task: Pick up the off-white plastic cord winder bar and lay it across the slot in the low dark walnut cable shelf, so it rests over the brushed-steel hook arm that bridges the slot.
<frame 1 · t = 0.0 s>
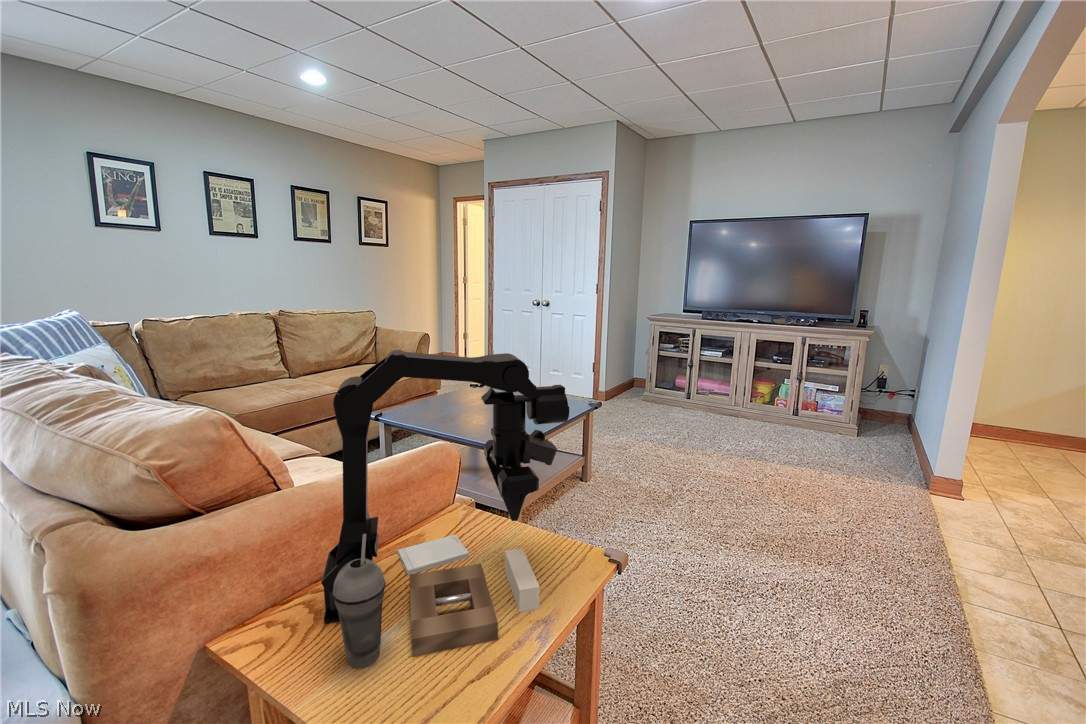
hand: (509, 507, 87), 15 cm above the table, tool pointing down, fingers open, 9 cm apart
cord winder: (521, 589, 88), on the table
beverage cup: (363, 657, 72), on the table
hard drive: (433, 558, 98), on the table
cable shelf: (450, 612, 81), on the table
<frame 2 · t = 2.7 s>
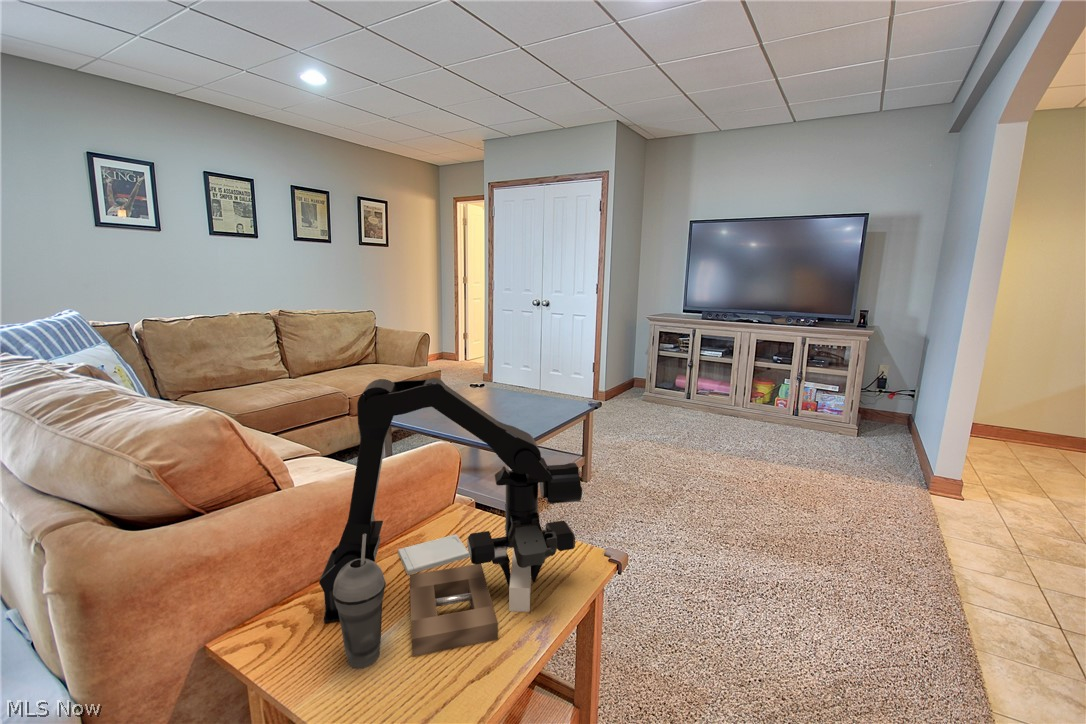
hand: (521, 583, 88), 1 cm above the table, tool pointing down, fingers closed on cord winder, 4 cm apart
cord winder: (520, 588, 88), on the table, touching gripper
everything else where it was.
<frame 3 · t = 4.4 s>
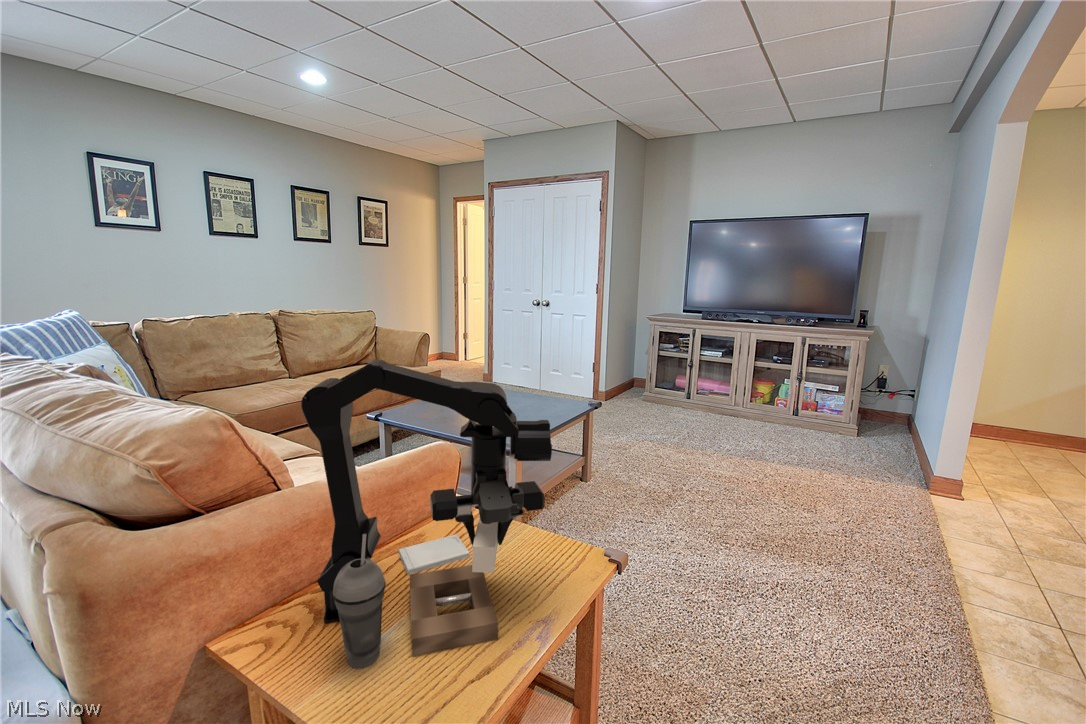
hand: (486, 545, 83), 10 cm above the table, tool pointing down, fingers closed on cord winder, 4 cm apart
cord winder: (486, 551, 83), point 9 cm above the table, touching gripper
everything else where it was.
when the fingers open (5 cm above the table, at t = 6.5 s): cord winder drops 1 cm, resting on cable shelf.
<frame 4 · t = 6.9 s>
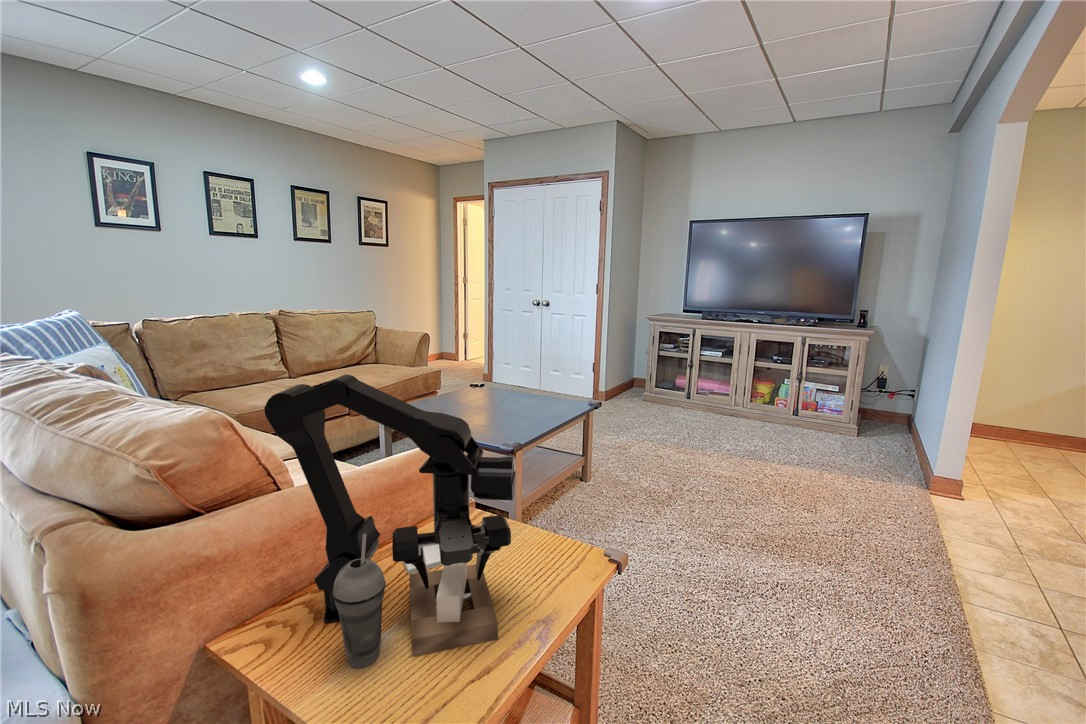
hand: (453, 583, 80), 6 cm above the table, tool pointing down, fingers open, 8 cm apart
cord winder: (453, 596, 81), point 3 cm above the table, touching cable shelf
everything else where it was.
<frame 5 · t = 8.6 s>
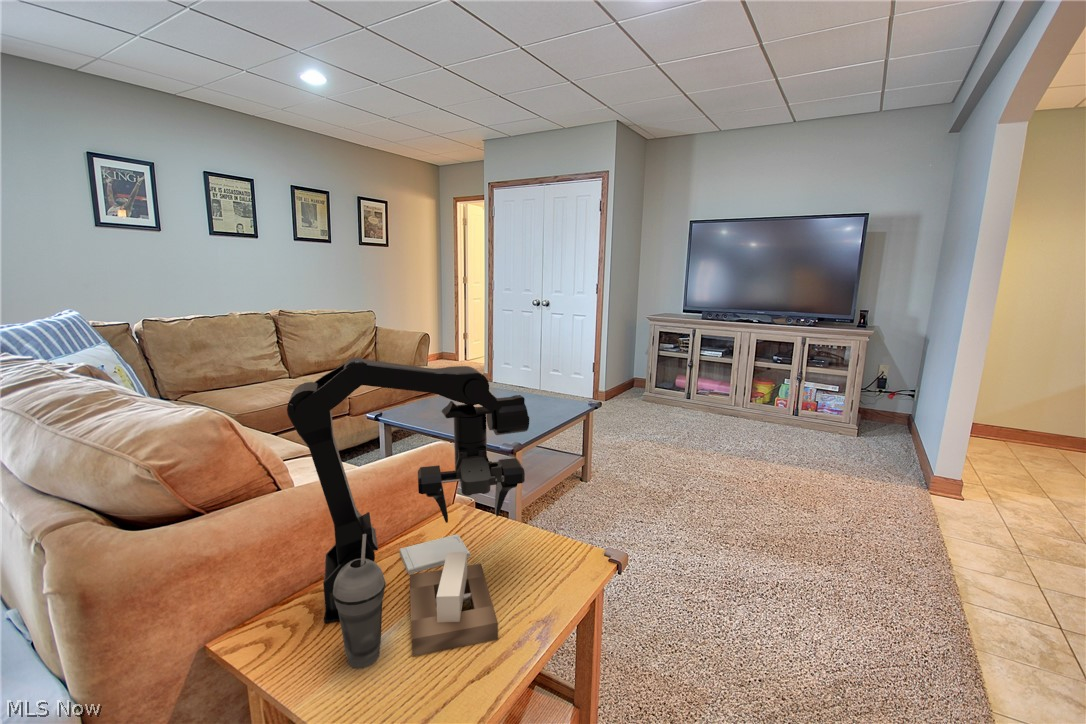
hand: (472, 518, 88), 12 cm above the table, tool pointing down, fingers open, 9 cm apart
nothing on the table moved.
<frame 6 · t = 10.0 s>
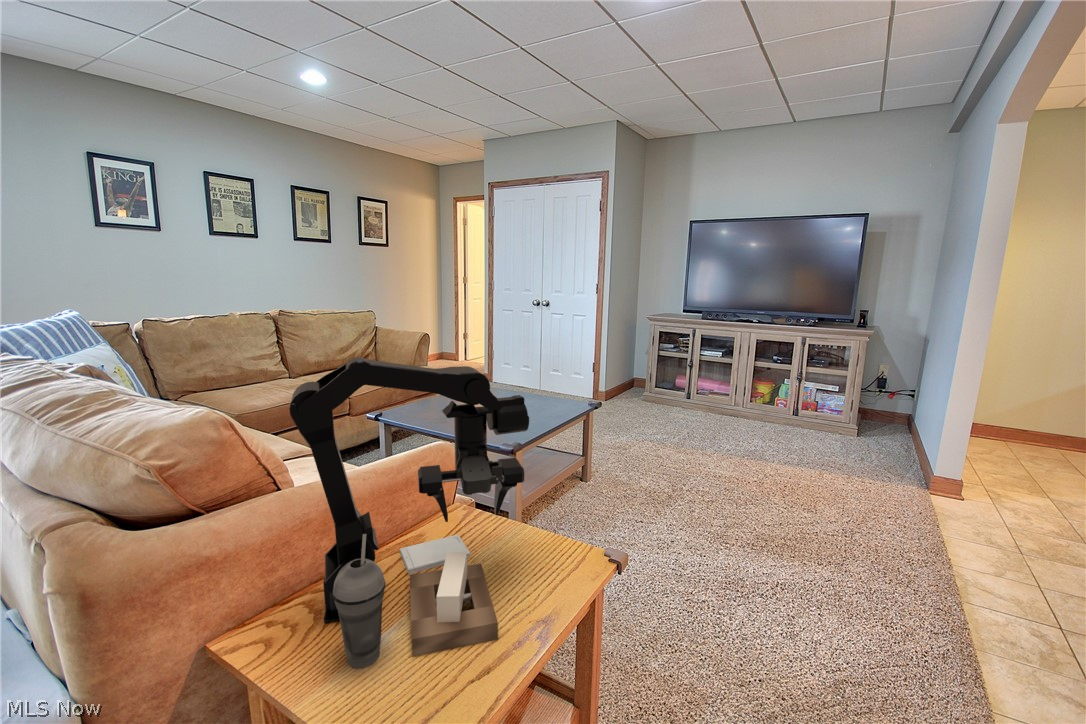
hand: (471, 517, 89), 12 cm above the table, tool pointing down, fingers open, 9 cm apart
nothing on the table moved.
at the end: cord winder 0.0 cm off-centre on the cable shelf, point 3.0 cm above the cable shelf's base; cord winder tilted 0°; the gripper is holding nothing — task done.
